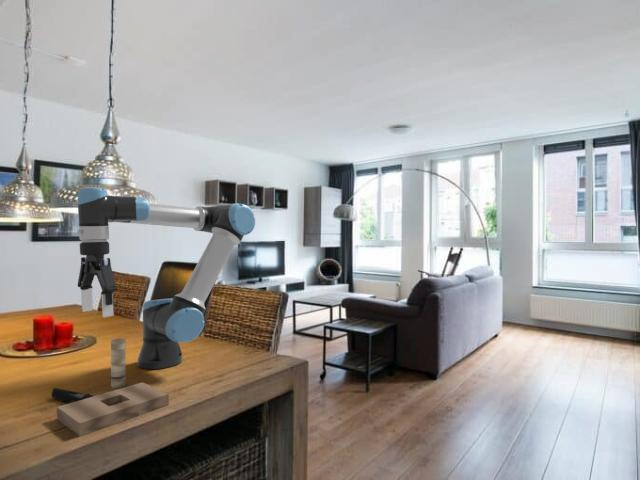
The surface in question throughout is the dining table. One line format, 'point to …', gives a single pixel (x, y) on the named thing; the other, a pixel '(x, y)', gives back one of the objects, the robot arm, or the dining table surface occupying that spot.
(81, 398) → the electric trimmer
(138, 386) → the walnut board
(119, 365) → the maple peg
